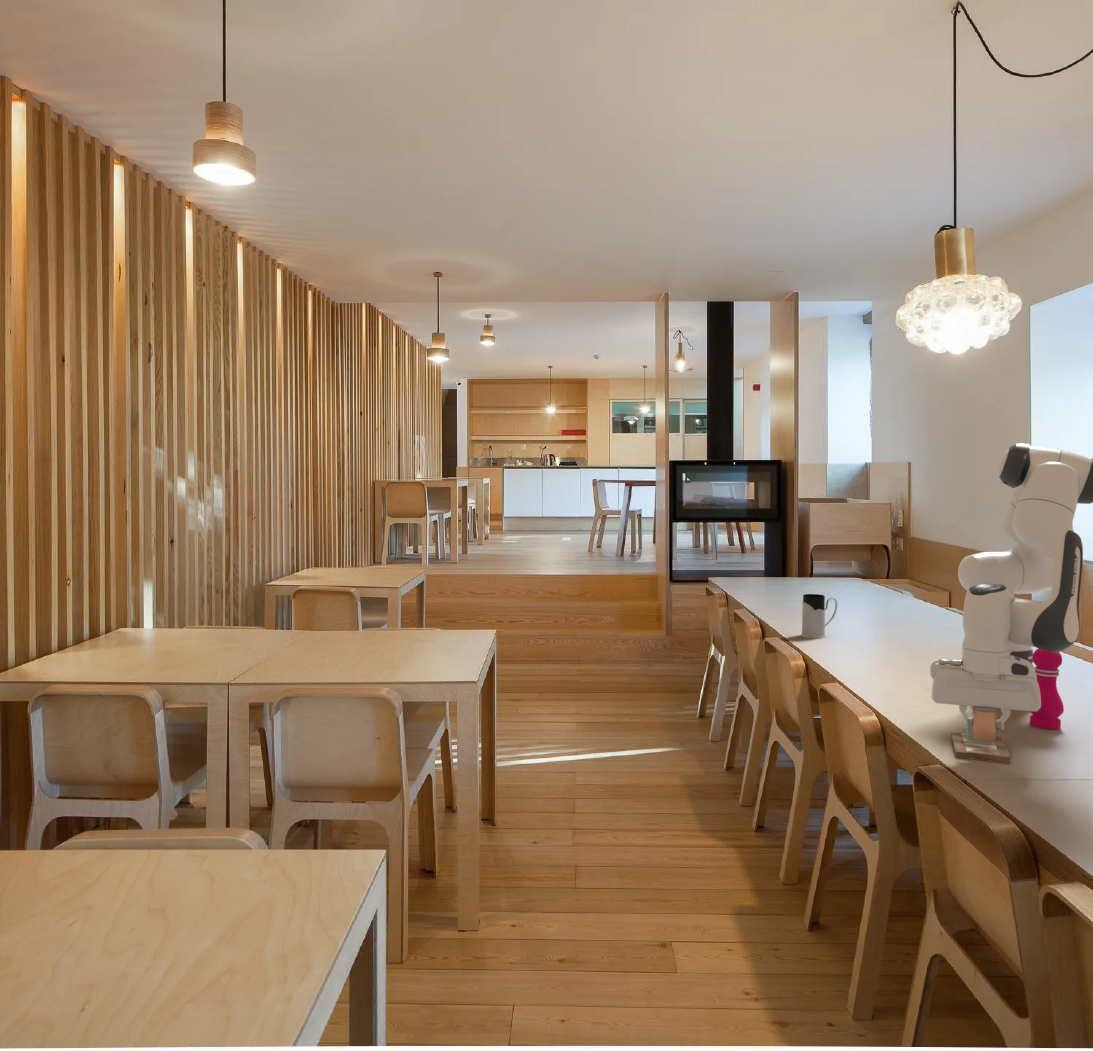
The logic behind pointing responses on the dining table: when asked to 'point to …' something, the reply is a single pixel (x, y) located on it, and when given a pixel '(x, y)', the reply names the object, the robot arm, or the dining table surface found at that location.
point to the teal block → (969, 734)
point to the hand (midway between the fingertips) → (983, 727)
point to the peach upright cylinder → (984, 723)
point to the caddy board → (980, 749)
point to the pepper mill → (1047, 690)
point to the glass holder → (814, 616)
